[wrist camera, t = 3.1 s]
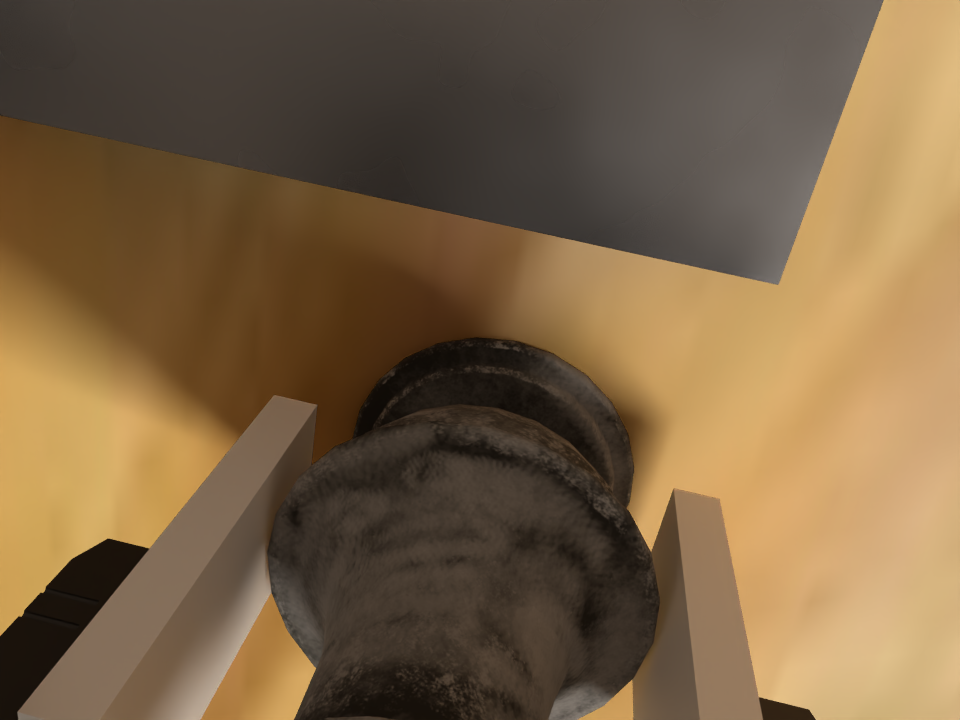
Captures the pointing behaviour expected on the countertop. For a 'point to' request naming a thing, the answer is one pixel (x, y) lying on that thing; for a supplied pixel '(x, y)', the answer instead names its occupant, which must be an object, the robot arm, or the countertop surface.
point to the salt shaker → (468, 546)
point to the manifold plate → (476, 105)
